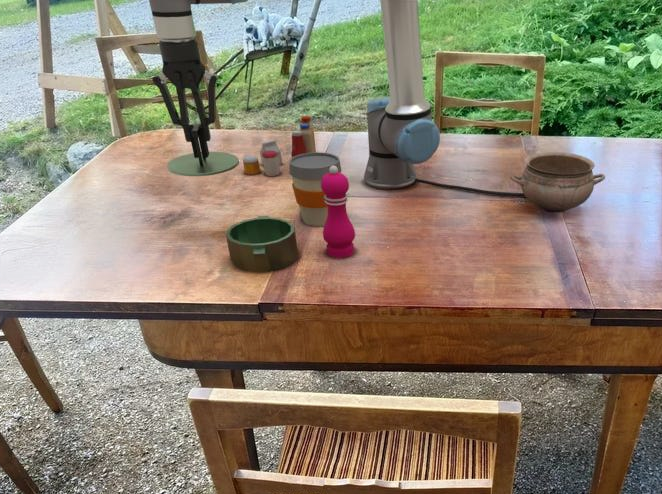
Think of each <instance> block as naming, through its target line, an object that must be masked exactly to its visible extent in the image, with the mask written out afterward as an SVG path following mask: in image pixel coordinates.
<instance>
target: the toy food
mask: <svg viewBox="0 0 662 494" xmlns="http://www.w3.org/2000/svg"><path fill="white" fill-rule="evenodd" d="M300 120H301V123H300V124H299V130H295V129H294V130H292V131H291V158H292V157H294V156H297V155H300V154H305V153H315V152H317V147H316V139H315V131H314V129H313V128H312V127H311V116H310V115H302V116H301V117H300ZM281 152H282V151H281V149H280V148H279V147H278V144H277V140H276V139H272V140H267V141H263V142H261V149H260V151H259V155H260V161H261V165H262V166H263V170H264V175H266V176H267V177H276V176H279V175H280V174H281V168H280V166H282V165H283V160H282V153H281ZM242 164H243V169H244V173H245V174H246V175H250V176H252V175H253V176H254V175H257V174H259V173H261V167H260V162H259V158H258V157H257V156H256V155H247V156H244V157H243V158H242Z"/></svg>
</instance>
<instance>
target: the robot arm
mask: <svg viewBox="0 0 662 494" xmlns="http://www.w3.org/2000/svg"><path fill="white" fill-rule="evenodd" d="M248 1H249V0H148V2H149V7H150V11H151V16H152V22H153V25H154V29H155V33H156V37H157V38H158V39H159V42H158V47H159V50H160V51H159V52H160V57H161V59H162V68H161V72H159V73H158V74H155V75H154V76H153V77H152V78H151V79H152V82H153V84H154V85H155V86H156V87H157V88H158V91H159V92H160V95H161V97H162V100H163V102H164V105H165V107H166V109H167V113H168V115H169V117H170V119H171V122H172V124H173V125H175V126H176V125H177V126H180V127H182V130H183V134H184V138H185V139H184V140H185V141H186V143H191V148H192V153H194V158H198V154H197V149H196V144H195V140H194V138H192V134H191V130H192V128H193V126H194V124H190V118H189V116H190V115H189V110H188V101H187V96H186V89H189V90H190V92H191V94H192V97H193V100H194V104H195V108H196V111H197V115H198V118H199V124H200V123H201V124H200V125H199V127H198V129H199V133H200V139H201V144H202V148H203V153H204V158H208V156H209V152H210V151H209V145H208V142H210V141H211V138H212V137H211V136H212V135H211V132H210V131H211V130H210V125H212V124H215V122H216V119H217V109H216V108H217V103H216V102H217V101H216V84H217V81H218V79H219V74H217V73H216V72H215V73H212V72H210V71H208V70H207V69H206V67H205V65H204V64H203V62H202V58H201V52H200V48H199V41H198V40H197V39H195V37H197V31H196V26H195V22H194V16H193V12H192V5H219V4H223V5H224V4H232V5H235V4H241V3H247V2H248ZM379 2H380V3H379V4H380V13H381V21H382V22H381V23H382V31H383V39H384V40H383V42H384V51H385V60H386V71H387V81H388V89H389V97H388V96H387V97H378V98H374V99H371V100H369V101H368V102H367V105H366V108H367V109H366V121H367V139H368V140H367V141H368V155H369V156H368V159H367V163H366V167H365V169H364V170H365V171H364V175H363V183H364V185H365V186H366V187H368V188H370V189H373V190H377V191H384V192H393V191H394V192H395V191H402V190H408V189H410V188H412V187H414V186H415V185H416V184H417V183H420V184H424V185H429V186H434V187H438V188H445V189H452V190H460V191H466V192H471V193H472V192H473V193H477V194H484V195H494V196H504V197H525V198H526V196H525V195H524V193H523V192H508V191H507V192H505V191H495V190H485V189H479V188H473V187H469V186H461V185H454V184H446V183H445V184H444V183H439V182H435V181H430V180H426V179H421V178H418V177H417V172H416V169H415V166H414V165H419V164H423V163H425V162H427V161H428V160H429V159H431V158H433V156H434V154H435V153H436V152H437V150H438V148H439V146H440V142H441V134H440V130H439V128H438V126H437V125H436V123H435V122H434V121H433V120H432V119H433V118H432V105H431V103H430V102H429V100H427V99H426V98H425V89H424V76H423V75H424V73H423V61H422V44H421V30H420V29H421V28H420V17H419V16H420V13H419V0H379ZM204 77H205V82H206V83H207V84H208V85H207V100H208V101H207V104H208V114H207V112H206V108H205V105H204V101H203V98H202V94H201V88H200V84H201V82H202V80H203V79H204ZM167 79H168V81H169V82H170V83H171V84H172V85H174V88H175V90H176V95H177V100H178V101H177V102H178V107H179V112H178V111H177V108H176V105H175V102H174V100H173V97H172V95H171V92H170V90H169V87H168V85H167ZM179 114H180V115H179ZM207 115H208V116H207Z"/></svg>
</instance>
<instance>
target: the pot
mask: <svg viewBox="0 0 662 494" xmlns="http://www.w3.org/2000/svg"><path fill="white" fill-rule="evenodd" d="M225 239H226V243H227V248H228V253H229V258H230V261H231V263H232V265H233V266H234V267H235V268H236V269H239V270H240V271H243V272H249V273H269V272H274V271H278V270H281V269H285V268H286V267H289V266H291V265H293V264H294V263H295V262H296V260H297V259H298V256H299V253H298V251H299V249H298V242H297V234H296V226H295V225H294V224H293V223H292V222H291V221H289V220H286V219H283V218H280V217H270V216H269V215H258V216H257V217H254V218H249V219H244V220H241V221H239V222H237V223H234V224H232V225H231V226H230V227H229V228H228V229H227V230H226V234H225Z"/></svg>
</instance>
